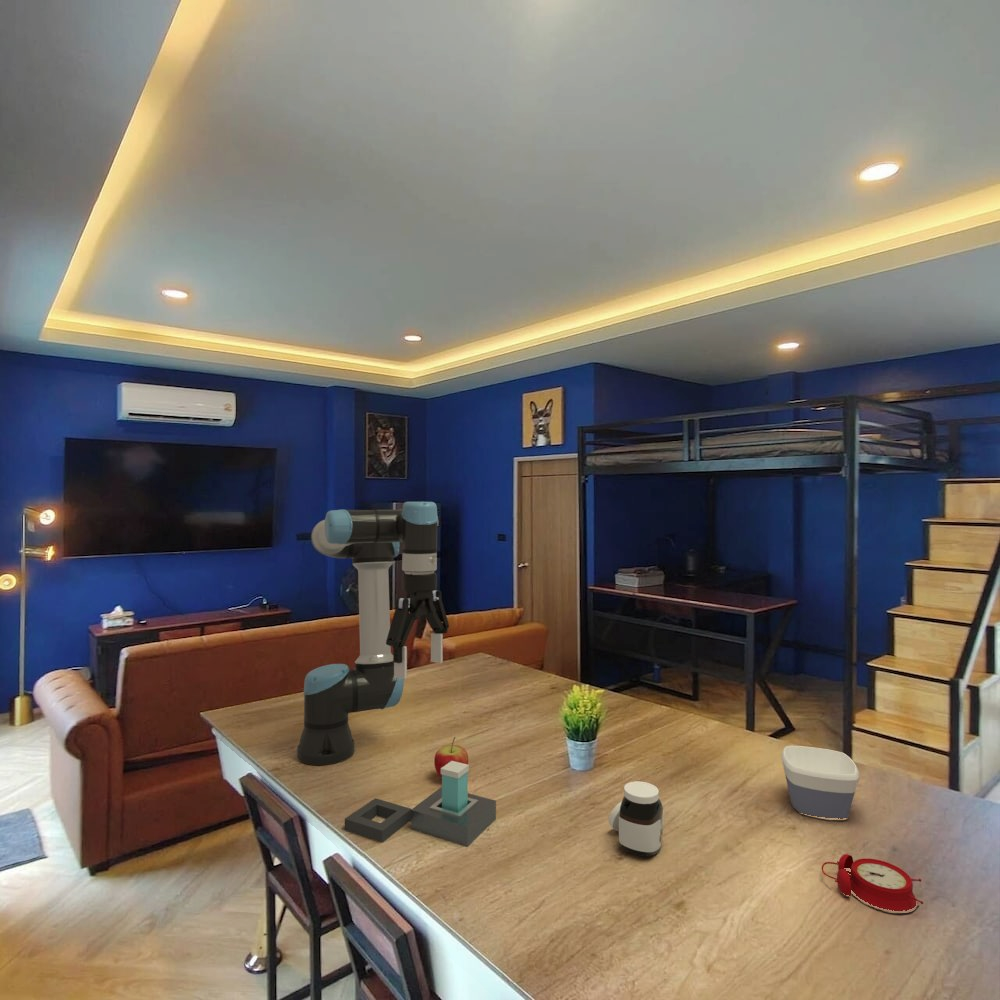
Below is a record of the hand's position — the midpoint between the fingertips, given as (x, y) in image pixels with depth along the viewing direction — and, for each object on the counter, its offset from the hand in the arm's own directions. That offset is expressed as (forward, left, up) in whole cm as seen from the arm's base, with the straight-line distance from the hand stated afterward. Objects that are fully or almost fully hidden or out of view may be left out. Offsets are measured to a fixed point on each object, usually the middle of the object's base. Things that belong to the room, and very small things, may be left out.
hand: (419, 669), depth 133 cm
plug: (+8, +2, -33) cm, 34 cm away
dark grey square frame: (-6, -6, -33) cm, 34 cm away
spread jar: (+44, +13, -33) cm, 56 cm away
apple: (-4, +19, -33) cm, 38 cm away
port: (+8, +2, -33) cm, 34 cm away
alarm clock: (+85, +18, -33) cm, 93 cm away
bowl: (+77, +47, -33) cm, 96 cm away
